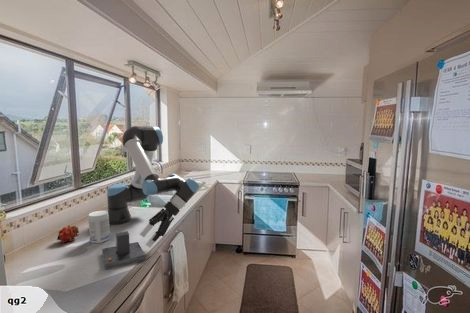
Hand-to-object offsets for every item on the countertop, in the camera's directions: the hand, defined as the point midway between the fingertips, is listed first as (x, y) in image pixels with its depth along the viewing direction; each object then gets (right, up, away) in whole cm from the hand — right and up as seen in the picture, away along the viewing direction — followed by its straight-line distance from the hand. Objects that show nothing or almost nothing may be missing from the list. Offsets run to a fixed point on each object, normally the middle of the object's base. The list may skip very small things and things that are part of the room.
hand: (144, 240), depth 125 cm
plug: (-8, -6, -4) cm, 11 cm away
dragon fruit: (-45, -5, +13) cm, 47 cm away
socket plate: (-8, -6, -4) cm, 11 cm away
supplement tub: (-29, -4, +14) cm, 32 cm away
